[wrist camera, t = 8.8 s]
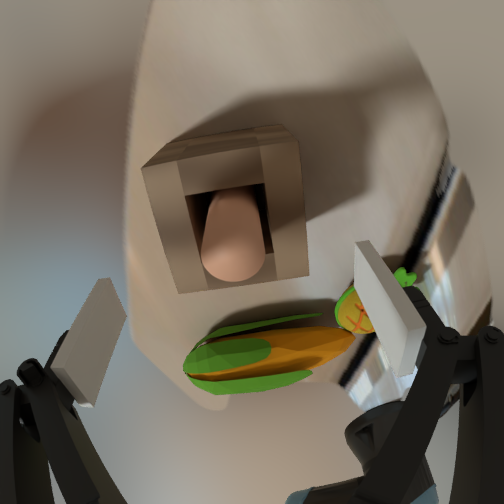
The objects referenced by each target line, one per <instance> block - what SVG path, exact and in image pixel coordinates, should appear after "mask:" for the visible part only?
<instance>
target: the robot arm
mask: <svg viewBox="0 0 504 504" xmlns="http://www.w3.org/2000/svg"><path fill="white" fill-rule="evenodd" d="M354 288H355V290H356V292H357V294H358V296H359V298H360V300H361V302H362V304H363V306H364V308H365V310H366V312H367V314H368V316H369V319H370V321H371V323H372V325H373V327H374V329H375V331H376V334H377V336H378V338H379V340H380V342H381V345H382V347H383V349H384V351H385V353H386V356H387V358H388V360H389V363H390V365H391V367H392V369H393V372H394V374H395V376H396V378H399V377H402V376H406V375H410V374H413V371H414V368H415V365H416V367H417V369H418V371H417V374H416V376H415V379H414V381H413V383H412V386H411V388H410V391H409V393H408V395H407V398H406V400H405V401H399V402H393V403H389V404H385V405H382V406H379V407H377V408H374V409H372V410H370V411H368V412H366V413H364V414H362V415H361V416H359V417H358V418H356V419H355V420H353V421H352V422H351V423H350V424H349V425H348V426H347V428H346V429H345V438H346V442H347V444H348V446H349V447H350V449H351V450H352V452H353V453H354V455H355V456H356V457H357V459H358V460H359V462H360V463H361V465H362V468H363V472H364V476H361V477H357V478H353V479H350V480H346V481H342V482H338V483H333V484H328V485H324V486H319V487H311V488H309V489H306V490H301V491H297V492H294V493H292V494H291V495H290V496H289V497H288V498H287V500H286V502H285V504H438V502H439V500H438V496H437V491H436V484H435V483H434V480H433V477H432V474H431V471H430V468H429V465H428V463H427V460H426V457H425V452H426V449H427V447H428V445H429V442H430V440H431V437H432V435H433V432H434V430H435V427H436V424H437V422H438V419H439V417H440V414H441V411H442V408H443V405H444V402H445V399H446V396H447V393H448V390H449V387H450V384H460V407H459V428H458V441H457V452H456V461H455V470H454V477H453V483H452V490H451V495H450V501H449V504H504V334H503V332H502V331H501V330H500V329H498V328H496V327H493V326H485V327H483V328H481V329H480V331H479V332H478V335H477V336H461V335H460V334H459V333H458V332H457V331H456V330H455V329H453V328H451V327H445V325H444V324H443V322H442V321H441V319H440V318H439V316H438V315H437V313H436V312H435V311H434V309H433V308H432V306H430V303H429V302H428V301H427V300H426V298H425V296H424V295H423V293H422V292H421V291H420V290H418V289H417V288H415V287H414V286H407V287H401V286H400V284H399V283H398V281H397V280H396V278H395V277H394V275H393V274H392V272H391V271H390V269H389V268H388V267H387V265H386V264H385V262H384V261H383V259H382V258H381V257H380V255H379V254H378V252H377V251H376V250H375V248H374V247H373V246H372V244H371V243H370V241H369V240H367V241H361V242H355V266H354ZM126 317H127V315H126V313H125V311H124V309H123V306H122V304H121V302H120V300H119V298H118V295H117V293H116V291H115V288H114V286H113V284H112V281H111V279H110V278H103V279H98V281H97V282H96V284H95V286H94V288H93V289H92V291H91V293H90V294H89V296H88V298H87V299H86V301H85V303H84V305H83V307H82V308H81V310H80V312H79V314H78V315H77V317H76V319H75V321H74V323H73V324H72V326H71V328H70V330H66V331H65V333H63V335H62V336H61V337H60V338H59V340H58V342H57V344H56V346H55V347H54V349H53V352H52V353H51V355H50V357H49V359H48V361H47V363H46V365H45V367H44V369H43V367H42V366H41V364H40V363H39V362H38V360H37V359H34V358H31V359H28V360H26V361H24V362H23V363H22V364H21V365H20V366H19V367H18V370H17V376H18V377H19V378H20V380H21V381H22V382H23V384H24V385H20V386H17V385H16V384H15V382H14V381H13V380H11V379H9V380H5V381H3V382H2V383H1V384H0V504H55V503H54V497H53V493H52V486H51V479H50V472H49V465H48V461H49V463H50V466H51V469H52V471H53V474H54V476H55V479H56V481H57V483H58V486H59V488H60V490H61V493H62V495H63V497H64V499H65V502H66V504H127V502H126V501H125V499H124V498H123V496H122V494H121V493H120V491H119V490H118V488H117V486H116V485H115V483H114V482H113V480H112V478H111V477H110V475H109V473H108V471H107V470H106V468H105V466H104V464H103V463H102V461H101V459H100V457H99V455H98V453H97V452H96V450H95V448H94V446H93V444H92V442H91V440H90V438H89V436H88V434H87V432H86V430H85V428H84V426H83V424H82V422H81V419H80V417H79V415H78V413H77V411H76V409H75V408H74V406H73V405H72V404H73V401H74V399H75V400H76V401H77V403H78V404H79V405H80V406H82V407H94V405H95V402H96V399H97V396H98V393H99V390H100V387H101V384H102V381H103V378H104V375H105V373H106V370H107V367H108V364H109V361H110V359H111V356H112V353H113V351H114V348H115V345H116V343H117V340H118V337H119V335H120V332H121V330H122V327H123V324H124V322H125V320H126ZM20 422H21V424H20Z"/></svg>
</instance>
